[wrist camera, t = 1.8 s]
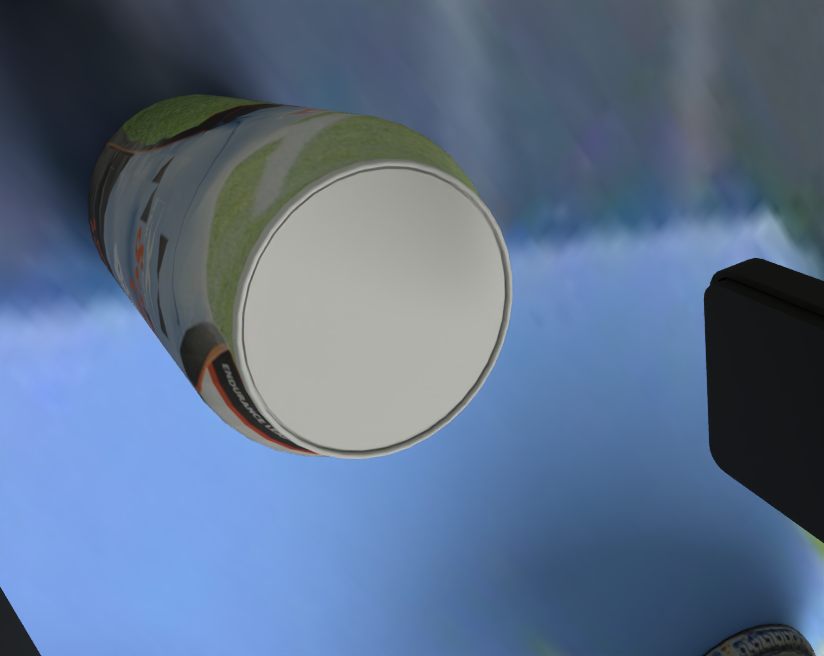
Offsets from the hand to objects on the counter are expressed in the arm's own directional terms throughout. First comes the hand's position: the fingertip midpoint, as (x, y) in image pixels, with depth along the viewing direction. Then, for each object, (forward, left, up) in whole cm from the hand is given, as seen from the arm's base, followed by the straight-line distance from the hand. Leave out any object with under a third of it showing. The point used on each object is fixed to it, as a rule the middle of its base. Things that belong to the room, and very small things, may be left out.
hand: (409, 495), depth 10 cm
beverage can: (-1, 0, -15) cm, 15 cm away
